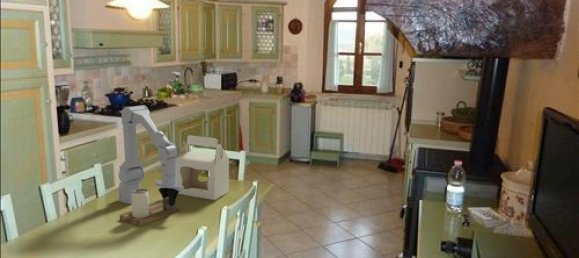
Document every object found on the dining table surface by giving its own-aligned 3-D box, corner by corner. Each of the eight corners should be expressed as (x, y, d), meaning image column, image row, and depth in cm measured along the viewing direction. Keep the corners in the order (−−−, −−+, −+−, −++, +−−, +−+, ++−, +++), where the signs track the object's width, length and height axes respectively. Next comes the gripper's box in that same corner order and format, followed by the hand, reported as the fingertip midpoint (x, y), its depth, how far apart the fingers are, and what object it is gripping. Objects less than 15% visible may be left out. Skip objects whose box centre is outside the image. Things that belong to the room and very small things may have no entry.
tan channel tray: (119, 219, 181) (119, 203, 180) (158, 205, 199) (158, 189, 198) (141, 226, 175) (140, 209, 174) (179, 210, 193) (179, 195, 192)
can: (144, 222, 179) (143, 194, 177) (129, 221, 180) (128, 192, 178) (152, 217, 185) (151, 189, 183) (137, 215, 186) (137, 187, 184)
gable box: (229, 192, 220) (229, 136, 215) (215, 200, 208) (215, 141, 203) (190, 186, 228) (190, 132, 223) (175, 193, 216) (174, 136, 211)
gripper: (149, 172, 187) (149, 204, 189) (174, 178, 180) (175, 211, 182) (161, 169, 193) (162, 199, 195) (187, 174, 186) (187, 206, 188)
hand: (169, 204), depth 189 cm, fingers closed on tan channel tray, 2 cm apart
